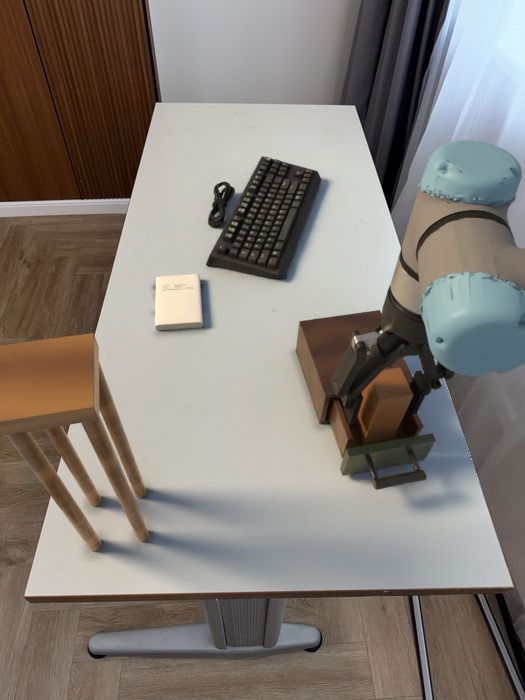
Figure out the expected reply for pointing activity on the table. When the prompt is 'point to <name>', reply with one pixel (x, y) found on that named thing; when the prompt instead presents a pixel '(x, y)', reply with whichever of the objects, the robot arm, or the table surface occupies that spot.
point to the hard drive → (178, 302)
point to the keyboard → (264, 219)
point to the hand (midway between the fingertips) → (379, 411)
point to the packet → (383, 407)
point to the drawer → (381, 448)
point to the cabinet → (332, 353)
